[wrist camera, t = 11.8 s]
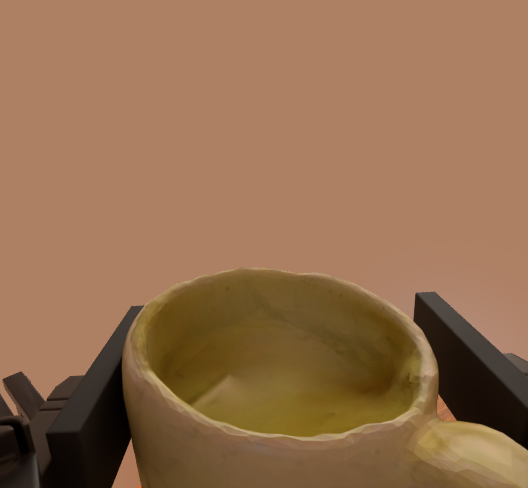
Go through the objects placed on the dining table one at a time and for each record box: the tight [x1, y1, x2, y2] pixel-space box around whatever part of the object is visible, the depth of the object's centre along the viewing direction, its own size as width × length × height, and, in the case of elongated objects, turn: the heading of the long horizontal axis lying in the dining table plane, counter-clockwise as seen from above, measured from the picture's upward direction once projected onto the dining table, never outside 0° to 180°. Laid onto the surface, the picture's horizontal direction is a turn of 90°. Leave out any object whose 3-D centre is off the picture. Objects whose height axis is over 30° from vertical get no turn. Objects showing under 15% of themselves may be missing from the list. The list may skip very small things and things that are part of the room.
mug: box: [122, 267, 528, 488], centre depth 12 cm, size 12×10×10 cm
